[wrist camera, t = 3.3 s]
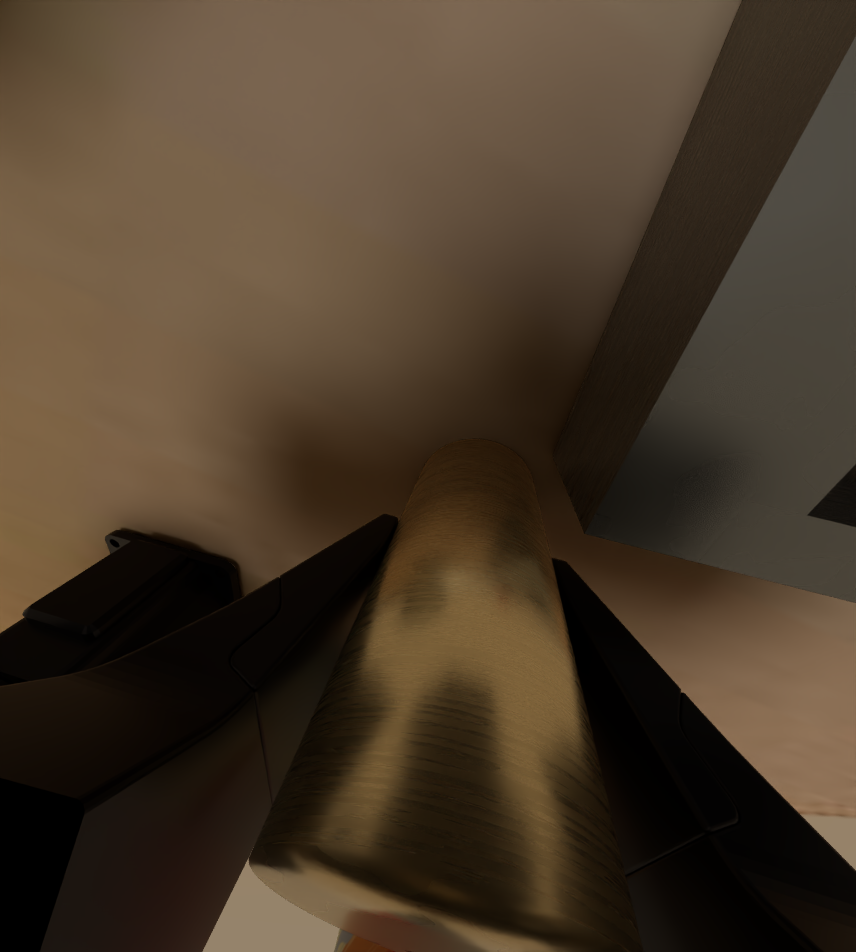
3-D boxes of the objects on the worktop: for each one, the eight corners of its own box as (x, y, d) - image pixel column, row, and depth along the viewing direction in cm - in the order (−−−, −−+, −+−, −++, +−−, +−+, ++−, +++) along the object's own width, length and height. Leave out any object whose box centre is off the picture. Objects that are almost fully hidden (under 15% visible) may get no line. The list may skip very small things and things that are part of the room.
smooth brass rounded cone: (513, 549, 12) (550, 1009, 4) (410, 522, 12) (262, 903, 4) (552, 455, 10) (767, 981, 2) (429, 426, 10) (225, 797, 2)
